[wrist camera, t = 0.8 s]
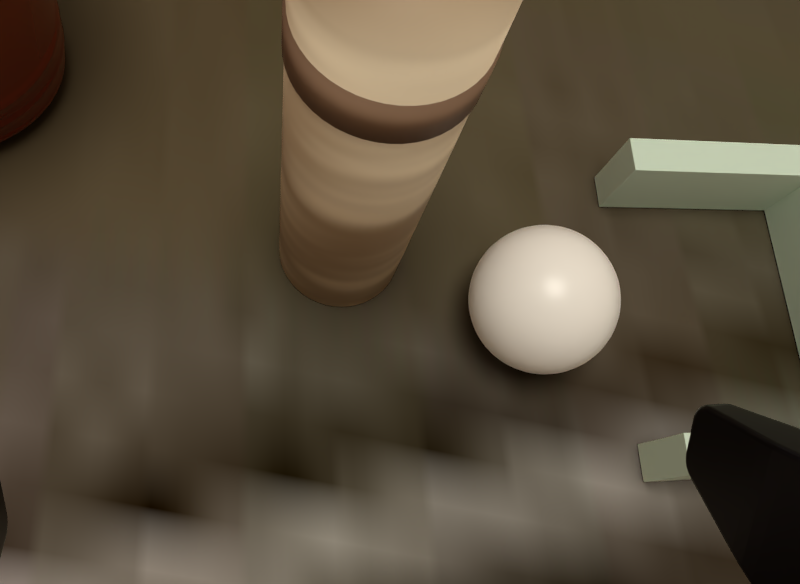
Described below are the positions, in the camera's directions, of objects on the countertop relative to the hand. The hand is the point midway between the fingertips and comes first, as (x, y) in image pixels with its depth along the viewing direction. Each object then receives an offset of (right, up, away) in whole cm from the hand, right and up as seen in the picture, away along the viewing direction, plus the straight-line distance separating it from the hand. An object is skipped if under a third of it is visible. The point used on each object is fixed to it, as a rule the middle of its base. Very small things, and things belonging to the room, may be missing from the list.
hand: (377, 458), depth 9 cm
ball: (+5, +2, +13) cm, 14 cm away
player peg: (-2, +4, +15) cm, 15 cm away
